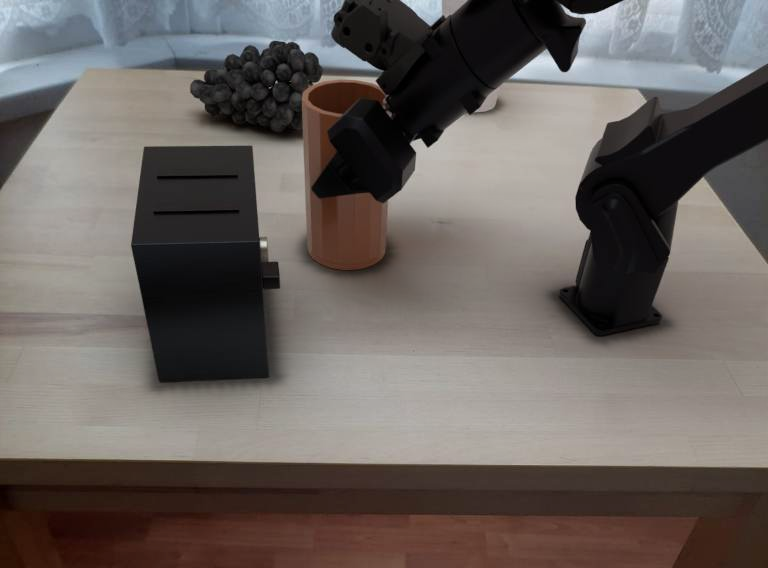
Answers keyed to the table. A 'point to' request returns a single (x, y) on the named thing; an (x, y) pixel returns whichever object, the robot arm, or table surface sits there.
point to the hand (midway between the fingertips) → (331, 173)
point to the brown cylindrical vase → (342, 213)
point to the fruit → (260, 86)
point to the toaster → (202, 262)
